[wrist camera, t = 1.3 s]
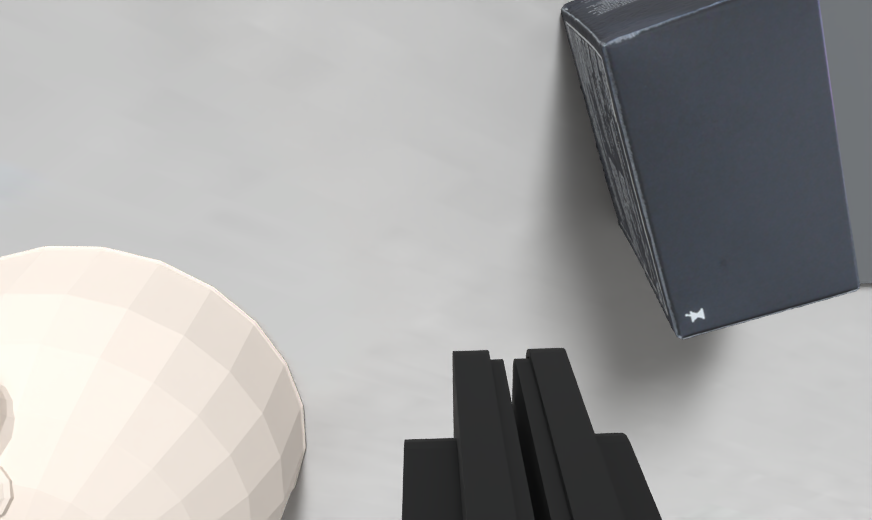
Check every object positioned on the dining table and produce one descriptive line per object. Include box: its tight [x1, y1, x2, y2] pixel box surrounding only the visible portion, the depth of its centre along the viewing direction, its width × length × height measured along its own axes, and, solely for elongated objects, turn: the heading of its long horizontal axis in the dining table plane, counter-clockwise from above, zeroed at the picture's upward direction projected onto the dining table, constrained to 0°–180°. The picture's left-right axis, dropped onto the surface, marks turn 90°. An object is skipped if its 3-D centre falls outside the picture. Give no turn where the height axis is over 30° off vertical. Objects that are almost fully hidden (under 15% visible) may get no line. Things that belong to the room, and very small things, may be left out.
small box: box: [561, 0, 860, 339], centre depth 27 cm, size 11×6×10 cm, turn 20°
